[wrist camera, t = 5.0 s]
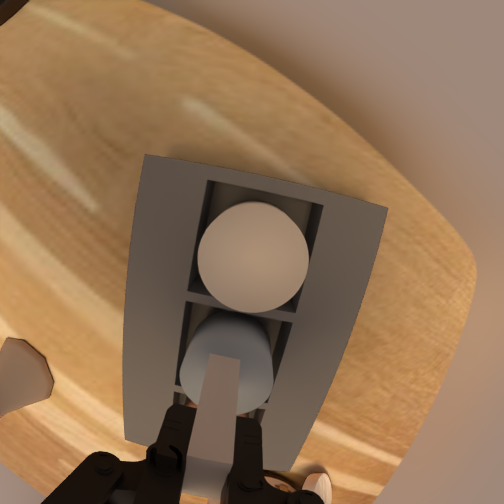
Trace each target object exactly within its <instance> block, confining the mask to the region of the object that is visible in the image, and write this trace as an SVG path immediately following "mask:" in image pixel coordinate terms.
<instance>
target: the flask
mask: <svg viewBox="0 0 504 504" xmlns="http://www.w3.org/2000/svg"><path fill="white" fill-rule="evenodd" d="M53 383H54V382H53V380H52V377H51V375H50V372H49V369H48V367H47V364H46V361H45V359H44V358H43V357H42V356H41V355H40V354H39V353H37V352H36V351H35V350H34V349H33V348H32V347H30V346H29V345H28V344H27V343H26V342H25V341H23V340H17V339H10V338H6V340H5V342H4V344H3V346H2V348H1V350H0V418H1V417H2V416H4V415H5V414H7V413H9V412H11V411H14V410H17V409H19V408H22V407H24V406H27V405H30V404H33V403H36V402H39V401H42V400H45V399H47V398H49V397H50V393H51V390H52V386H53Z"/></svg>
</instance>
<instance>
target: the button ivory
mask: <svg viewBox="0 0 504 504" xmlns="http://www.w3.org/2000/svg"><path fill="white" fill-rule="evenodd" d="M308 263H309V255H308V248H307V244H306V241H305V238H304V236H303V234H302V232H301V231H300V229H299V228H298V226H297V225H296V224H295V223H294V222H293V221H292V220H291V219H290V218H289V217H288V216H287V215H286V214H285V213H284V212H283V211H282V210H281V209H280V208H278V207H277V206H275V205H273V204H271V203H268V202H265V201H259V200H248V201H243V202H239V203H237V204H234V205H232V206H231V207H229V208H228V209H226V210H225V211H224V212H223V213H222V214H220V215H219V216H218V217H217V218H216V219H215V220H214V221H213V222H212V223H211V224H210V225H209V227H208V228H207V229H206V231H205V233H204V234H203V236H202V239H201V241H200V245H199V249H198V268H199V273H200V276H201V279H202V281H203V283H204V285H205V286H206V288H207V290H208V291H209V292H210V293H211V294H212V295H213V296H214V297H215V298H216V299H217V300H218V301H219V302H221V303H222V304H224V305H226V306H227V307H229V308H232V309H234V310H238V311H241V312H248V313H258V312H265V311H269V310H272V309H275V308H277V307H279V306H281V305H283V304H284V303H286V302H287V301H288V300H290V299H291V298H292V297H293V296H294V295H295V294H296V293H297V291H298V290H299V288H300V287H301V285H302V284H303V282H304V279H305V277H306V274H307V270H308Z"/></svg>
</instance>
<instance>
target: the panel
mask: <svg viewBox="0 0 504 504" xmlns="http://www.w3.org/2000/svg"><path fill="white" fill-rule="evenodd" d="M248 200H259V201H265V202H268V203H271V204H273V205H275V206H277V207H278V208H280V209H281V210H282V211H283V212H284V213H285V214H286V215H287V216H288V217H289V218H290V219H291V220H292V221H293V222H294V223H295V224H296V225H297V226H298V228H299V229H300V231H301V232H302V234H303V236H304V238H305V241H306V244H307V248H308V255H309V263H308V270H307V274H306V277H305V279H304V282H303V284H302V285H301V287H300V288H299V290H298V291H297V293H296V294H295V295H294V296H293V297H292V298H291V299H290V300H288V301H287V302H286V303H284V304H283V305H281V306H279V307H277V308H275V309H272V310H269V311H265V312H258V313H248V312H241V311H238V310H234V309H232V308H229V307H227V306H226V305H224V304H222V303H221V302H219V301H218V300H217V299H216V298H215V297H214V296H213V295H212V294H211V293H210V292H209V291H208V290H207V288H206V286H205V285H204V283H203V281H202V279H201V276H200V273H199V268H198V249H199V245H200V241H201V239H202V236H203V234H204V233H205V231H206V229H207V228H208V227H209V225H210V224H211V223H212V222H213V221H214V220H215V219H216V218H217V217H218V216H219V215H220V214H222V213H223V212H224V211H225V210H226V209H228V208H229V207H231V206H232V205H234V204H237V203H239V202H243V201H248ZM387 212H388V208H387V207H383V206H380V205H377V204H373V203H370V202H366V201H363V200H359V199H356V198H352V197H348V196H345V195H341V194H337V193H333V192H330V191H326V190H322V189H318V188H314V187H310V186H306V185H302V184H298V183H293V182H289V181H285V180H281V179H276V178H272V177H267V176H263V175H258V174H253V173H249V172H244V171H239V170H234V169H229V168H224V167H219V166H213V165H208V164H202V163H197V162H191V161H185V160H179V159H173V158H167V157H160V156H154V155H147V154H145V156H144V161H143V166H142V172H141V177H140V183H139V188H138V194H137V200H136V207H135V213H134V220H133V227H132V235H131V243H130V251H129V260H128V270H127V281H126V294H125V308H124V328H123V415H124V433H125V440H128V441H131V442H134V443H137V444H140V445H144V446H147V447H149V446H150V445H151V444H153V443H155V442H156V440H157V437H158V435H159V432H160V429H161V426H162V423H163V420H164V417H165V414H166V411H167V409H168V408H169V407H170V406H172V405H173V404H174V403H177V404H181V405H184V404H185V401H186V397H187V395H186V393H185V392H184V390H183V388H182V386H181V382H180V368H181V365H182V362H183V360H184V357H185V355H186V352H187V349H188V347H189V344H190V342H191V339H192V337H193V334H194V332H195V329H196V328H197V326H198V325H199V324H200V322H202V321H203V320H204V319H205V318H207V317H208V316H210V315H212V314H215V313H218V312H223V311H236V312H241V313H244V314H247V315H249V316H251V317H253V318H255V319H256V320H257V321H258V322H260V323H261V324H262V325H263V327H264V328H265V329H266V331H267V333H268V335H269V338H270V344H271V356H272V367H273V379H274V382H273V388H272V391H271V394H270V395H269V397H268V399H267V400H266V401H265V402H264V403H263V404H262V405H261V406H259V407H258V408H256V409H254V410H252V411H250V412H249V418H253V419H257V420H258V422H259V424H260V425H261V427H262V447H263V469H265V470H275V471H290V469H291V467H292V466H293V464H294V462H295V460H296V458H297V456H298V454H299V452H300V450H301V448H302V446H303V444H304V442H305V440H306V438H307V436H308V434H309V432H310V430H311V428H312V426H313V424H314V422H315V419H316V417H317V415H318V413H319V411H320V408H321V406H322V404H323V402H324V400H325V397H326V395H327V393H328V390H329V388H330V386H331V383H332V381H333V378H334V376H335V374H336V371H337V369H338V366H339V364H340V361H341V359H342V356H343V353H344V351H345V348H346V346H347V343H348V340H349V338H350V335H351V332H352V329H353V326H354V324H355V321H356V318H357V315H358V312H359V309H360V306H361V303H362V300H363V297H364V294H365V291H366V288H367V285H368V281H369V278H370V275H371V271H372V268H373V265H374V261H375V258H376V254H377V251H378V247H379V243H380V240H381V236H382V232H383V228H384V224H385V220H386V216H387Z"/></svg>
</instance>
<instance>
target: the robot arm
mask: <svg viewBox="0 0 504 504" xmlns="http://www.w3.org/2000/svg"><path fill="white" fill-rule="evenodd" d="M27 1H28V0H0V25H1V24H2V23H4V22H5V21H6V20H7V19H9V18H10V17H11V16H12V15H13V14H14V13H15V12H16V11H17V10H19V9H20V8H21V7H22V6H23V5H24V4H25V3H26V2H27ZM239 371H240V360H239V359H234V358H229V357H225V356H220V355H216V354H211V353H210V356H209V360H208V365H207V369H206V373H205V377H204V382H203V386H202V390H201V395H200V399H199V403H198V408H193V407H189V406H185V405H181V404H177V403H174V404H173V405H172V406H170V407H169V408H168V409H167V411H166V414H165V417H164V420H163V423H162V426H161V429H160V432H159V435H158V437H157V440H156V442H155V443H153V444H151V445H150V446H149V447H148V449H147V450H146V459H144V460H142V461H138V462H128V461H120V460H119V458H117V457H116V456H115V455H113V454H111V453H108V452H102V451H99V452H94V453H92V454H90V455H89V456H88V457H87V458H86V459H85V460H84V461H83V462H82V463H81V464H80V465H79V466H78V467H77V468H76V469H75V470H74V471H73V472H72V473H71V474H70V475H69V476H68V477H67V478H66V479H65V480H64V481H63V482H62V483H61V484H60V485H59V486H58V487H57V488H56V489H55V490H54V491H53V492H52V493H51V494H50V495H49V496H48V497H47V498H46V499H45V500H44V501H43V502H42V503H41V504H179V501H180V496H181V493H186V494H190V495H195V496H200V497H206V498H211V499H217V500H219V499H220V504H324V502H323V500H322V499H321V497H320V496H319V495H318V494H316V493H315V492H313V491H310V490H297V491H294V492H293V493H289V492H286V491H283V490H280V489H277V488H275V487H273V486H272V485H270V484H269V483H268V482H267V481H266V479H265V477H264V474H263V447H262V427H261V425H260V424H259V422H258V420H257V419H253V418H247V417H241V416H236V413H237V399H238V385H239ZM220 497H221V498H220Z"/></svg>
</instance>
